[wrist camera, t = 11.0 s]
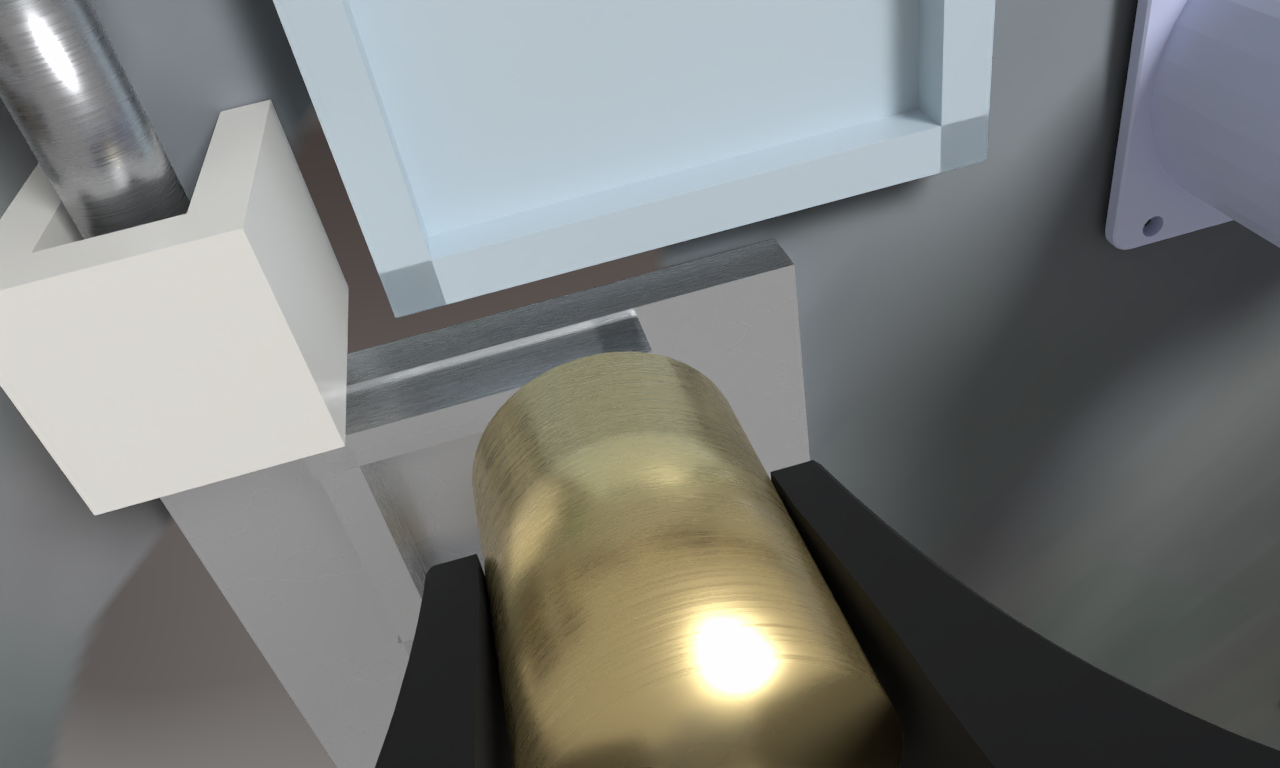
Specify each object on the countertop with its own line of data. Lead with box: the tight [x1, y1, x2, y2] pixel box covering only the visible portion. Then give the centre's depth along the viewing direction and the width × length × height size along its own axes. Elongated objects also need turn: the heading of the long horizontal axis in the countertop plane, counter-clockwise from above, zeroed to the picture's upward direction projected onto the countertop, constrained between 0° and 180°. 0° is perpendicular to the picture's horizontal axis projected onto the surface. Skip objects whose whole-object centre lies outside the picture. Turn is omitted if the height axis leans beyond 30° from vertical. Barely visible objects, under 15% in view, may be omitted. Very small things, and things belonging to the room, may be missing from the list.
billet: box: [472, 351, 903, 768], centre depth 12 cm, size 4×4×6 cm
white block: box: [0, 99, 349, 515], centre depth 16 cm, size 4×4×5 cm
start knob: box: [0, 0, 190, 239], centre depth 14 cm, size 3×7×3 cm, turn 10°
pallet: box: [160, 239, 810, 768], centre depth 24 cm, size 14×13×3 cm
